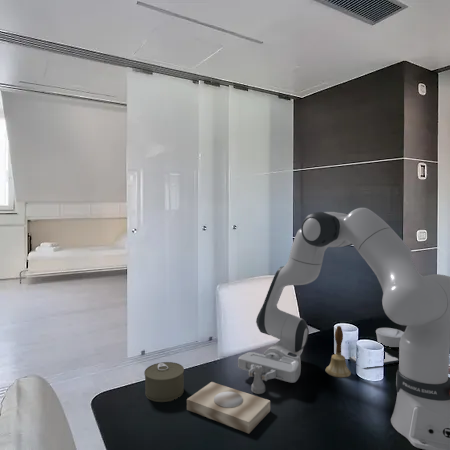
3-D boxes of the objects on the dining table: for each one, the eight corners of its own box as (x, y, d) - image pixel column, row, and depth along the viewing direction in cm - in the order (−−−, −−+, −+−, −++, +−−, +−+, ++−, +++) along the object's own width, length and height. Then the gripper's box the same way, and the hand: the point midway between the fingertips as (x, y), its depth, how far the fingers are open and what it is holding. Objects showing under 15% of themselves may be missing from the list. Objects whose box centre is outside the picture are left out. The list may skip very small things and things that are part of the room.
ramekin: (411, 350, 143) (411, 337, 143) (382, 350, 143) (382, 337, 143) (398, 339, 154) (398, 327, 154) (371, 339, 155) (371, 327, 154)
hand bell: (354, 371, 125) (355, 325, 125) (345, 380, 119) (345, 332, 118) (331, 364, 131) (332, 320, 130) (321, 372, 124) (321, 326, 124)
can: (148, 406, 105) (148, 382, 104) (141, 386, 116) (141, 365, 115) (189, 397, 109) (188, 375, 109) (178, 379, 120) (178, 359, 120)
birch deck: (270, 411, 101) (270, 399, 101) (248, 433, 91) (248, 421, 91) (211, 391, 112) (211, 380, 112) (186, 409, 102) (186, 398, 102)
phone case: (363, 371, 127) (401, 364, 131) (362, 366, 127) (401, 360, 131) (347, 360, 136) (384, 354, 140) (347, 356, 135) (384, 350, 140)
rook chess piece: (261, 396, 109) (261, 370, 109) (248, 392, 112) (248, 366, 111) (268, 389, 113) (268, 364, 113) (255, 385, 116) (255, 361, 115)
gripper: (249, 344, 129) (228, 358, 117) (305, 357, 117) (287, 374, 106) (249, 362, 129) (228, 377, 117) (304, 376, 118) (287, 395, 106)
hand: (257, 376), depth 111 cm, fingers open, 3 cm apart
